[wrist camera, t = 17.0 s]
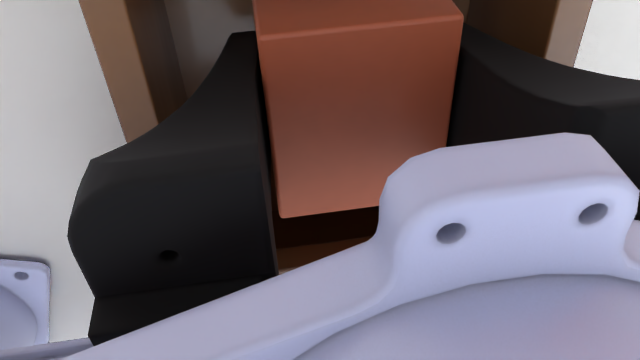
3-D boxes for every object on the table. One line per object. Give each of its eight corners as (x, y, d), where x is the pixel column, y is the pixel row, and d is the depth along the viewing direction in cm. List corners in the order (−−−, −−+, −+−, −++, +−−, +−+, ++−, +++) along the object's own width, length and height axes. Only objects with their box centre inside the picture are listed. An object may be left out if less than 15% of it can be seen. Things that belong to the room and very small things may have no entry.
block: (266, 112, 16) (279, 220, 13) (245, -50, 13) (256, 37, 10) (395, 97, 16) (440, 199, 13) (404, -65, 13) (466, 15, 10)
